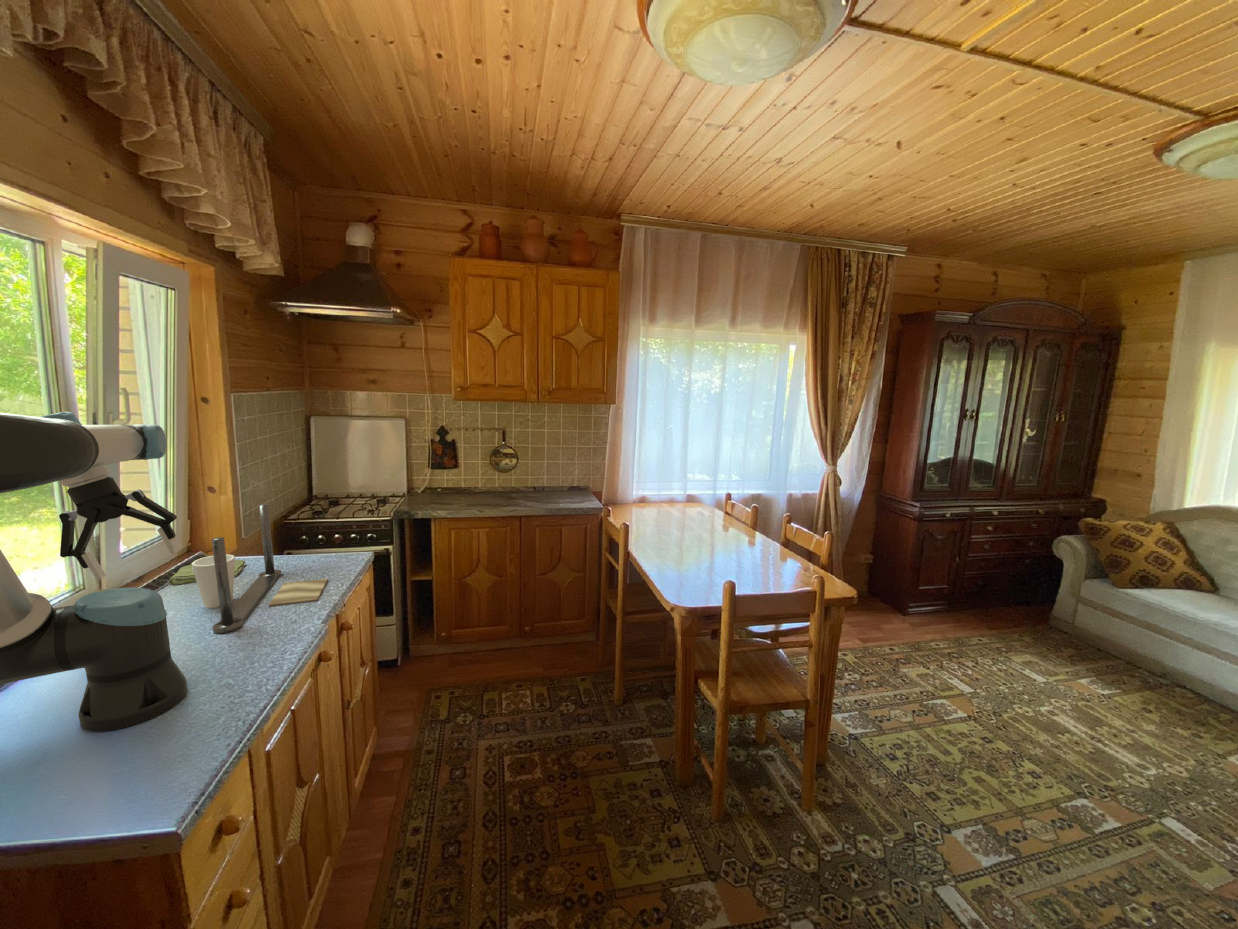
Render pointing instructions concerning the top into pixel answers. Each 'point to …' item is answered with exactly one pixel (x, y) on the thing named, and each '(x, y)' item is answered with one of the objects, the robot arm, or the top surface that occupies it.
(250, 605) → the rod gate
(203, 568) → the foam cup
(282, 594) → the birch pad
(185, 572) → the washcloth
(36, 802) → the top surface
